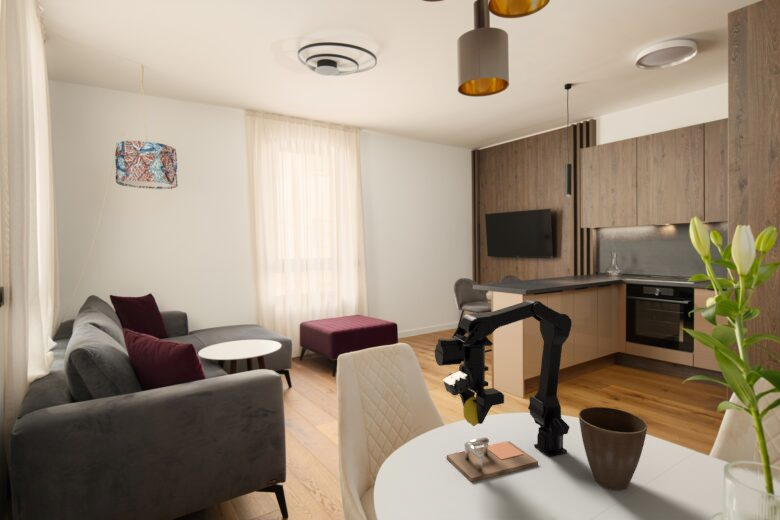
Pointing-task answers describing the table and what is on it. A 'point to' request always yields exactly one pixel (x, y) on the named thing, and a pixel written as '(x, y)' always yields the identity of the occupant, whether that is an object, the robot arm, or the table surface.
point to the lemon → (470, 411)
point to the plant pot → (612, 444)
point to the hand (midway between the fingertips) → (474, 419)
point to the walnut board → (490, 464)
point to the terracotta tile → (504, 450)
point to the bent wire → (471, 447)
